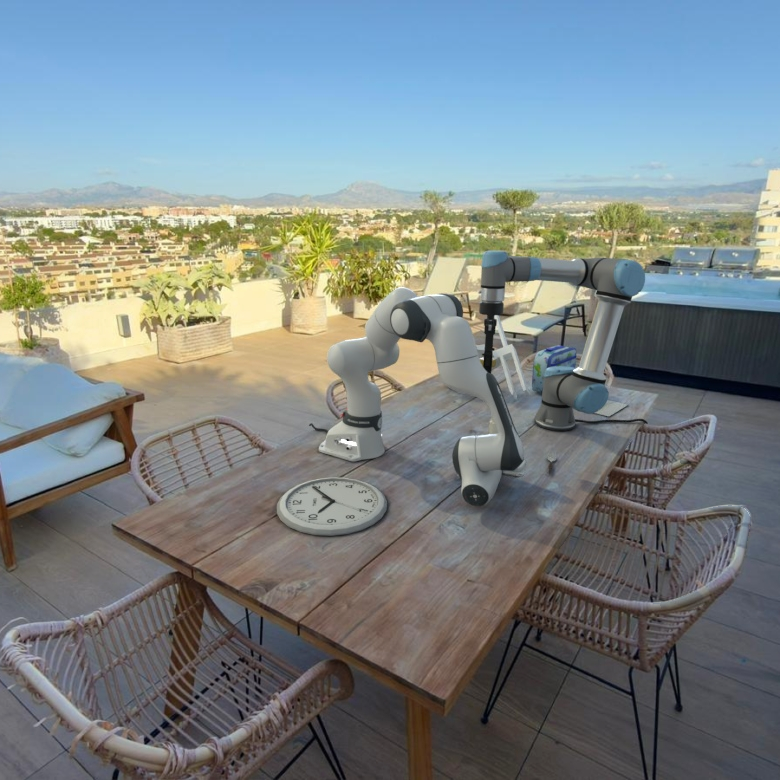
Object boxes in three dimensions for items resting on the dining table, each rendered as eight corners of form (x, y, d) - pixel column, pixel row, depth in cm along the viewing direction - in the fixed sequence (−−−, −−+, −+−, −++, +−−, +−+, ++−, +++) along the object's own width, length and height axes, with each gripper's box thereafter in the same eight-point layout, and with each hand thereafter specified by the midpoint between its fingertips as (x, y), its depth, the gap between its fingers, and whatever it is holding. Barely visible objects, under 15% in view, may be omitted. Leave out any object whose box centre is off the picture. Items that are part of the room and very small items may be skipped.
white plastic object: (461, 429, 252) (437, 405, 227) (444, 352, 274) (420, 323, 250) (535, 404, 240) (518, 377, 215) (510, 326, 262) (492, 293, 237)
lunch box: (548, 398, 236) (553, 353, 229) (527, 393, 243) (531, 349, 237) (575, 387, 253) (581, 344, 247) (555, 382, 260) (560, 341, 254)
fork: (544, 474, 162) (545, 469, 162) (548, 455, 177) (548, 449, 176) (553, 476, 161) (554, 470, 161) (556, 456, 176) (557, 450, 175)
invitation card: (608, 416, 214) (573, 407, 224) (608, 416, 214) (573, 408, 224) (628, 404, 229) (594, 396, 238) (628, 405, 229) (594, 397, 238)
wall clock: (392, 527, 129) (268, 531, 127) (391, 533, 130) (269, 537, 127) (383, 473, 158) (282, 475, 155) (383, 478, 158) (282, 480, 156)
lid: (481, 363, 174) (481, 356, 174) (497, 364, 172) (497, 357, 172) (477, 366, 170) (477, 359, 169) (493, 368, 168) (494, 361, 167)
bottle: (493, 478, 160) (498, 418, 154) (482, 472, 164) (486, 414, 158) (503, 474, 163) (508, 415, 157) (492, 468, 166) (497, 411, 160)
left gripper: (524, 467, 145) (530, 448, 157) (452, 455, 152) (463, 438, 164) (522, 487, 147) (528, 467, 159) (451, 474, 154) (462, 456, 166)
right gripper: (480, 297, 174) (476, 365, 181) (478, 305, 157) (474, 379, 164) (503, 298, 172) (498, 366, 180) (504, 306, 156) (498, 380, 163)
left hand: (495, 452), depth 162 cm, fingers closed on bottle, 4 cm apart
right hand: (487, 372), depth 172 cm, fingers closed on lid, 5 cm apart
